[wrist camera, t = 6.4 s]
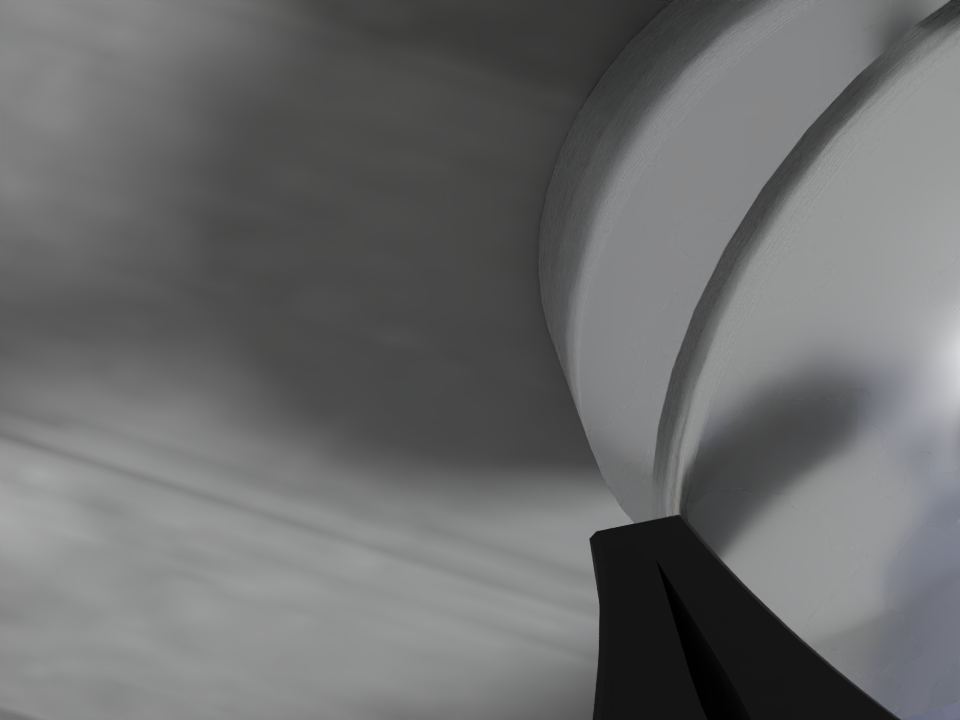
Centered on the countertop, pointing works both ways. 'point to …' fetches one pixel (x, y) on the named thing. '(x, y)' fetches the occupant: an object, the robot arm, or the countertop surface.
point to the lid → (841, 383)
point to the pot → (679, 191)
